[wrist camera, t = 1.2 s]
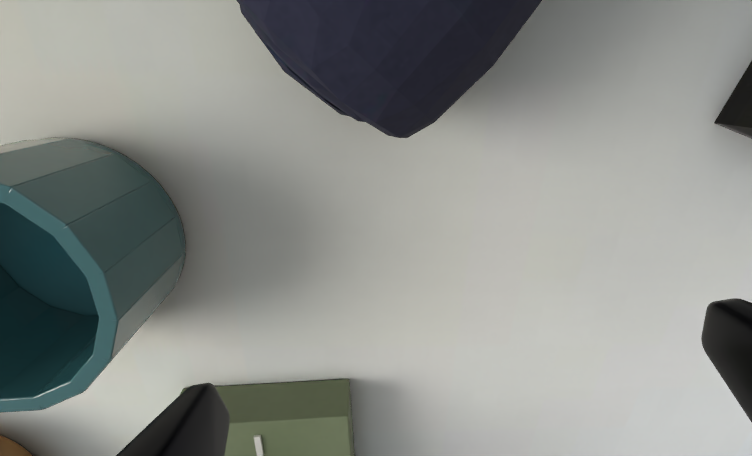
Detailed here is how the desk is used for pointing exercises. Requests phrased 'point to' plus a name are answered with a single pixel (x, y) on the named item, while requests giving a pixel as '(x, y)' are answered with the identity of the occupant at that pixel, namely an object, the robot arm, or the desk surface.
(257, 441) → the control panel
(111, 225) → the teal cup
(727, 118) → the portable cd player
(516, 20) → the portable speaker
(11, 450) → the stand
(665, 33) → the desk surface
